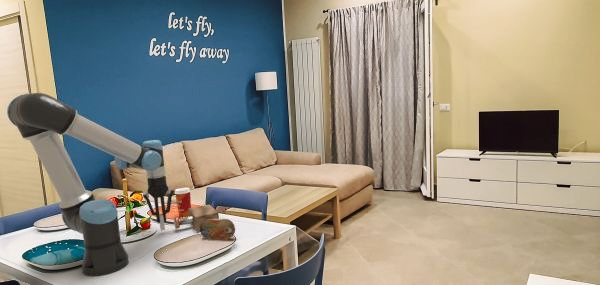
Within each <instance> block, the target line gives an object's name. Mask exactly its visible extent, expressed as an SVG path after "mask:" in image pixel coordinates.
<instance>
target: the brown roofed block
mask: <svg viewBox="0 0 600 285" xmlns="http://www.w3.org/2000/svg"><path fill="white" fill-rule="evenodd" d="M190 223H194V221H193V216H190V217H185V218H180V217H179V215H178V216H173V224H174V228H175V229H176V230H177V229H180V227H181V226H184V225H189V224H190ZM190 225H191V224H190Z"/></svg>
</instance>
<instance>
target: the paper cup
mask: <svg viewBox="0 0 600 285" xmlns="http://www.w3.org/2000/svg"><path fill="white" fill-rule="evenodd" d="M191 192H192V191H191V189H190V187H181V188H176V189H175V190H174V194H175V199H176V206H177V210H178V218H180V217H182V218H183V217H188V216H189V210H188V208H192V204H191V203H192V202H191V201H192V200H191Z"/></svg>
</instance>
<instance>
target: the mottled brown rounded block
mask: <svg viewBox="0 0 600 285" xmlns="http://www.w3.org/2000/svg"><path fill="white" fill-rule="evenodd" d="M199 233H200V234H201V236H202V237H203V238H204V239H206V240H208V241H209V240H211V241H228V240H230V239H232V237H233V236H235V233H236V227H235V224H234V222H233V221H232V220H230V219H228V218H219V219H207V220H205V221H203V222H202V223H201V225H200V232H199Z"/></svg>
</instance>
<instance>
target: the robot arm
mask: <svg viewBox="0 0 600 285" xmlns="http://www.w3.org/2000/svg"><path fill="white" fill-rule="evenodd" d="M6 113H7V117H8V119H9V121H10V122H11V123H12V124H13V125H14V126H15V127H16V128H17V130H18V131H19V133H20V135H21V137H22V139H24V140H26V141H27V140H28V142H30V143H31V144H32V147H33V149H34V151H35V152H36V155H37V156H38V159H39V160H40V162H41V164H42V166H43V168H44V170H45V172H46V174H47V175H48V179H50V182H51V184H52V185H53V187H54V188H55V191H56V193H57V195H58V197H59V199H60V201H59V205H58V207H59V209H60V211H61V219H62V221H63V223H64V224H65V226H66V227H67V228H68V229H70V230H72V231H74V232H77V233H79V234H81V235H82V239H83V245H84V254H83V259H82V263H81V271H82V274H83V275H86V276H91V277H93V276H94V277H95V276H104V275H108V274H111V273H115V272H117V271H120V270H121V269H123V268H125V267H126V266H128V264H129V262H130V261H129V254H128V253H127V251H126V250H125V247H124V245H123V244H122V240H121V233H120V224H119V216H118V214H119V213H118V210H117V209H118V208H117V205H116V203H115V202H114V201H112V200H109V199H96V198H95V196H94V194H93V192H92V191H91V190H87V189H86V188H85V186H84V184H83V182H82V180H81V178H80V176H79V174H78V171H77V170H76V167H75V166H74V164H73V161H72V159H71V157H70V155H69V153H68V152H67V149H66V147H65V145H64V143H63V141H62V139H61V137H60V136H62V135H67V136H69V137H72V138H74V139H76V140H79V141H81V142H83V143H85V144H87V145H89V146H92V147H93V148H96V149H98V150H100V151H103V152H105V153H107V154H109V155H111V156H113V157H114V163H115V166H116V168H117V169H119V170H127V169H136V170H137V169H138V170H144V171H145V172H146V177H147V180H146V181H147V192H144V193H143V194H142V197H143V199H144V200H145V201H146V203H147V206H148V209H149V211H150V213H151V215H152V216H155V217H156V223H157V224H159V227H160V231H165V230H166V226H165V222H166V223H167V214H169V213H170V212H171V205H172V199H173V198H172V197H173V194H175V190H173V189H172V188H169V186H168V184H167V183H168V182H167V177H166V169H165V167H166V166H165V159H164V158H165V157H164V152H163V151H164V149H163V145H162V141H161V140H159V139H153V140H145V141H143V142H142V146H141V145H140V144H138V143H135V142H134V141H132V140H130V139H127V137H124V136H122V135H121V134H117V133H116V132H114V131H111V130H110V129H108V128H106V127H104V126H102V125H101V124H98V123H96V122H94V121H92V120H90V119H88V118H87V117H84V116H83V115H80V114H79V113H78V111H77V109H75V108H74V107H72V106H70V105H68V104H66V103H64V102H63V101H62V100H61V101H60V100H59V99H58V98H56V97H53V96H52V95H48V94H47V93H42V92H34V93H25V94H21V95H18V96H16V97H15V98H13V99H12V100H11V101H10V102H9V104H8V106H7V109H6ZM166 194H167V202H166V203H165V195H166ZM150 196H151V197H152V198H153V200H154V208H155V209H154V208H153V206H152V204H151V201H150ZM159 199H160V205H161V207H159V206H160V205H159ZM160 208H161V214H160Z"/></svg>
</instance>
